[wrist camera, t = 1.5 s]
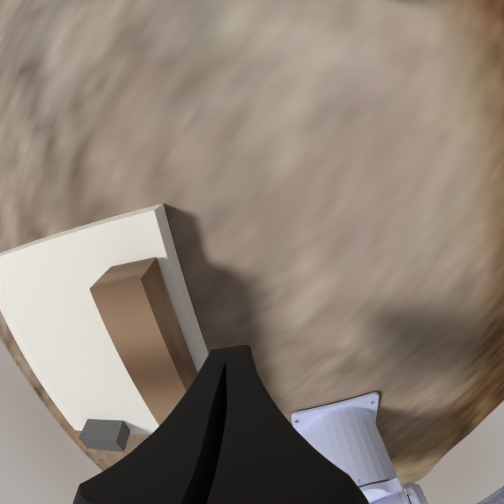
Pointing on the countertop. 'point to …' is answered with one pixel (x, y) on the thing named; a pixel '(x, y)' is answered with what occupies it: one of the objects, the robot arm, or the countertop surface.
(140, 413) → the stool seat
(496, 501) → the robot arm
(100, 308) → the folding leg
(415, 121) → the countertop surface
